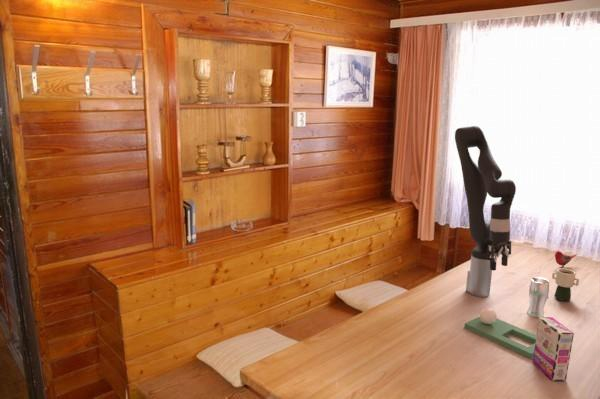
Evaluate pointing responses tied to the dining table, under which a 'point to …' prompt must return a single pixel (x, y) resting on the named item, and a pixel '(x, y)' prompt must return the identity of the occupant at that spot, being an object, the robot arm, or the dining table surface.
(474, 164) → the robot arm
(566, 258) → the decorative bird figurine
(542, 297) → the beer glass
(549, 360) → the candy bar box
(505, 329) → the putting mat
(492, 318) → the ball
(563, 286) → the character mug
